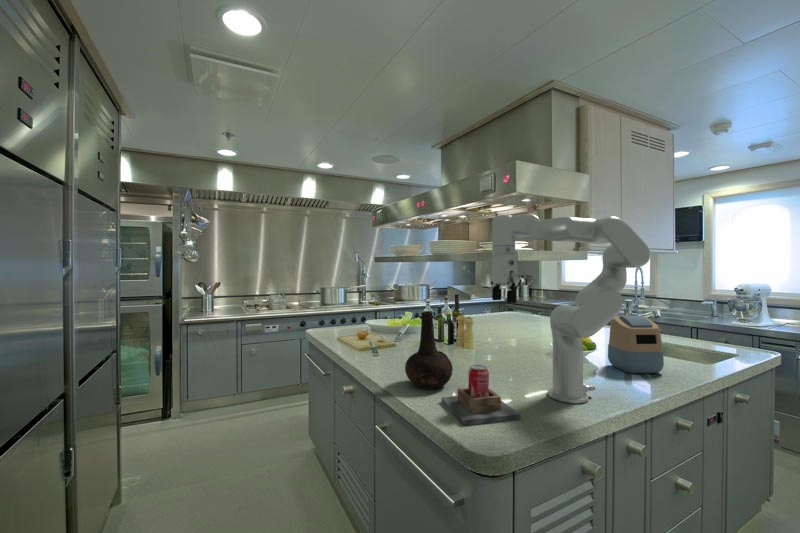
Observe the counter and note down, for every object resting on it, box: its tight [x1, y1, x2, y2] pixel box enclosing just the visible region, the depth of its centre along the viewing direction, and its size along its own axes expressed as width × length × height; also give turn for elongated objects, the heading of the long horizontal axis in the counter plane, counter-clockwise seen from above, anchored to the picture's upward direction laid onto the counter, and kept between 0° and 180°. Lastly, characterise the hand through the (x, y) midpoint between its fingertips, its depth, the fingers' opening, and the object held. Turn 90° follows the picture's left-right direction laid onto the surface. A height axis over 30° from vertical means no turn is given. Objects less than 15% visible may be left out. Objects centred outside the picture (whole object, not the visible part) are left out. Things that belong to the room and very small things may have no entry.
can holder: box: [441, 387, 521, 426], centre depth 110 cm, size 18×18×6 cm
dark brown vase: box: [404, 311, 454, 390], centre depth 133 cm, size 18×18×28 cm
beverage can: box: [468, 364, 490, 398], centre depth 110 cm, size 6×6×12 cm
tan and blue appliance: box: [607, 315, 665, 374], centre depth 153 cm, size 17×17×23 cm
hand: (503, 301), depth 120 cm, fingers open, 9 cm apart
